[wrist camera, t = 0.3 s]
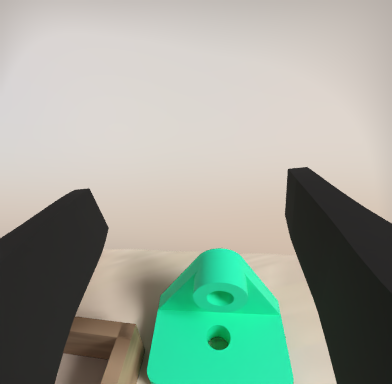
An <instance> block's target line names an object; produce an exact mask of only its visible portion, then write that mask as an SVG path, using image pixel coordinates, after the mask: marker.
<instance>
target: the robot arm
mask: <svg viewBox="0 0 392 384" xmlns="http://www.w3.org/2000/svg"><path fill="white" fill-rule="evenodd" d="M285 217H286V220H287V225H288V230H289V234H290V238H291V241H292V244H293V246H294V249H295V252H296V255H297V257H298V260H299V262H300V265H301V268H302V270H303V273H304V276H305V278H306V281H307V283H308V286H309V289H310V291H311V294H312V296H313V299H314V302H315V305H316V308H317V311H318V314H319V318H320V321H321V325H322V329H323V332H324V336H325V340H326V343H327V347H328V351H329V355H330V359H331V362H332V366H333V370H334V374H335V378H336V382H337V384H392V223H390V222H388V221H386V220H385V219H383V218H382V217H380V216H378V215H377V214H375V213H373V212H371V211H370V210H368V209H366V208H365V207H364V206H362V205H360V204H359V203H357V202H356V201H354V200H353V199H351V198H350V197H348V196H347V195H346V194H344V193H343V192H341V191H340V190H338V189H337V188H335V187H334V186H333V185H331V184H330V183H329V182H327V181H326V180H324V179H323V178H322V177H320V176H319V175H318V174H316V173H315V172H313V171H312V170H311V169H309V168H308V167H303V168H293V169H288V176H287V193H286V208H285ZM107 233H108V226H107V224H106V222H105V219H104V217H103V215H102V213H101V211H100V209H99V207H98V205H97V203H96V201H95V199H94V197H93V195H92V193H91V191H90V189H80V190H74V191H72V192H70V193H68V194H66V195H65V196H63V197H61V198H60V199H58V200H57V201H55V202H54V203H52V204H51V205H49V206H48V207H46V208H45V209H44V210H42V211H41V212H39V213H38V214H36V215H35V216H33V217H32V218H30V219H29V220H27V221H26V222H25V223H23V224H22V225H20V226H19V227H17V228H16V229H14V230H13V231H11V232H10V233H8V234H6V235H5V236H3V237H2V238H0V384H55V380H56V376H57V373H58V369H59V366H60V362H61V359H62V355H63V352H64V348H65V345H66V342H67V339H68V336H69V332H70V329H71V326H72V323H73V320H74V317H75V315H76V312H77V310H78V307H79V305H80V302H81V300H82V298H83V295H84V293H85V291H86V289H87V286H88V284H89V282H90V279H91V277H92V275H93V273H94V270H95V268H96V266H97V263H98V261H99V258H100V256H101V254H102V251H103V248H104V244H105V241H106V237H107Z"/></svg>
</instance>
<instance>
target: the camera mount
mask: <svg viewBox="0 0 392 384" xmlns="http://www.w3.org/2000/svg"><path fill="white" fill-rule="evenodd" d="M213 337H221V338H223V339H225V340H226V341H227V343H228V347H227V348H225V349H223V350H215V349H213V348H212V347H211V346H210V345H209V344H208V342H209V340H210V339H211V338H213ZM147 375H148V378H149V380H150V383H151V384H293V373H292V368H291V364H290V359H289V354H288V349H287V344H286V339H285V334H284V329H283V324H282V319H281V314H280V309H279V304H278V300H277V299H276V298H275V297H274V295H273V294H272V293H271V292H270V291H269V289H268V288H267V287H266V286H265V285H264V283H263V282H262V281H261V280H260V279H259V277H258V276H257V275H256V274H255V273H254V271H253V270H252V269H251V268H250V266H249V265H248V264H247V263H246V262H245V260H244V259H243V258H242V257H241V256H240V255H239V254H238V253H236V252H234V251H232V250H228V249H221V248H218V249H211V250H207V251H205V252H203V253H202V254H200V255H199V256H198V257H197V258H196V259H195V260H194V261H193V262H192V263H191V264H190V266H189V267H188V268H187V269H186V270H185V271H184V272H183V273H182V274H181V275H180V276H179V277H178V278H177V279H176V280H175V281H174V282H173V283H172V284H171V285H170V286H169V287H168V288H167V289H166V290H165V291H164V293H163V294H162V295H161V296H160V302H159V307H158V312H157V318H156V323H155V329H154V334H153V339H152V345H151V350H150V355H149V361H148V366H147Z"/></svg>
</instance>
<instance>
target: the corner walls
mask: <svg viewBox="0 0 392 384" xmlns="http://www.w3.org/2000/svg"><path fill="white" fill-rule="evenodd" d="M144 352H145V349H144V346H143V343H142V340H141V337H140V335H139V332H138V329H137V326H136V324H130V323H122V322H114V321H106V320H98V319H90V318H82V317H74V320H73V323H72V326H71V329H70V332H69V336H68V339H67V342H66V345H65V348H64V352H63V353H66V354H73V355H80V356H87V357H94V358H101V359H108V360H109V361H108V364H107V367H106V370H105V372H104V375H103V378H102V381H101V384H136V382H137V379H138V375H139V371H140V367H141V363H142V360H143V356H144Z"/></svg>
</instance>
